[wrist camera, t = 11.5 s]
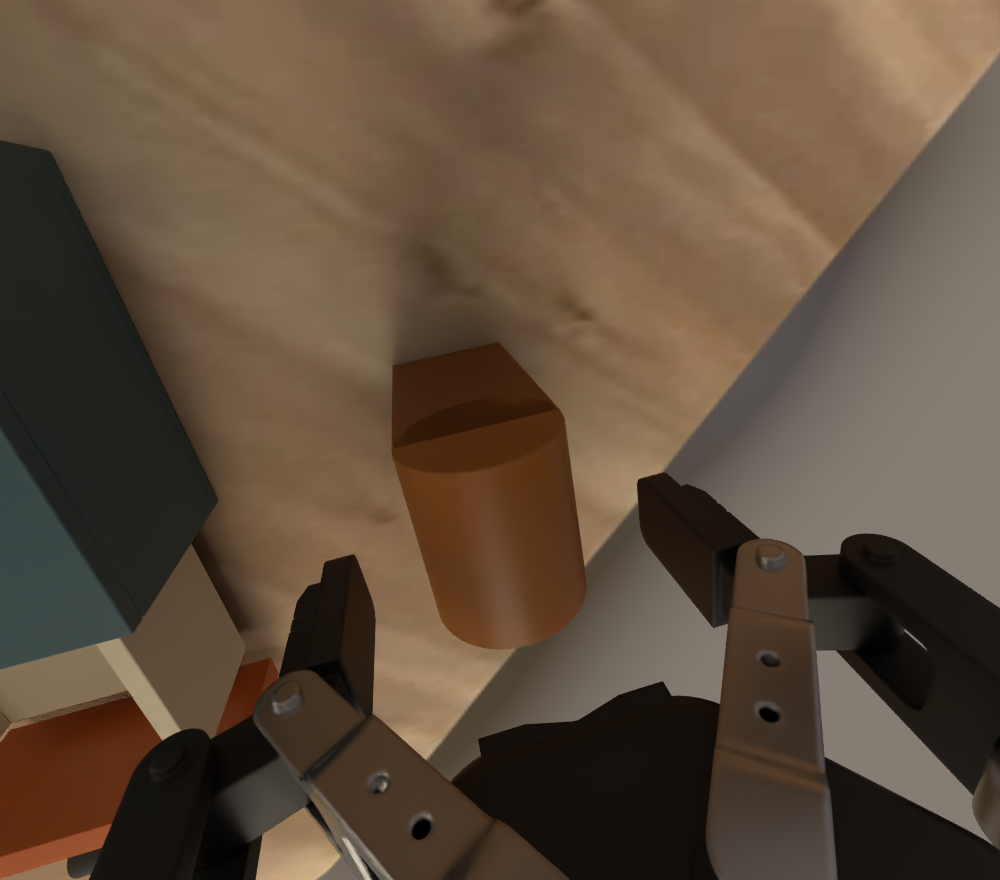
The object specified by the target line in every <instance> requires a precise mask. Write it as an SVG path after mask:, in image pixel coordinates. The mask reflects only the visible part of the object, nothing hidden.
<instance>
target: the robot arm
mask: <svg viewBox="0 0 1000 880" xmlns="http://www.w3.org/2000/svg"><path fill="white" fill-rule="evenodd" d="M637 491H638V505H639V519H640V528H641V532H642V535H643V538H644V540H645V542H646V544H647V545H648V546H649V548H650V549H651V550H652V552H653V553H654V554H655V555H656V557H657V558H658V559H659V560H660V562H661V563H662V564H663V565H664V567H665V568H666V569H667V571H668V572H669V573H670V574H671V576H672V577H673V578H674V579H675V581H676V582H677V583H678V584H679V586H680V587H681V588H682V589H683V591H684V592H685V593H686V594H687V596H688V597H689V598H690V599H691V600H692V602H693V603H694V604H695V606H696V607H697V608H698V609H699V611H700V612H701V613H702V614H703V616H704V617H705V618H706V620H707V621H708V622H709V623H710V624H711V626H712V627H713V628H715V627H718V626H722V625H725V624H728V630H727V641H726V650H725V660H724V670H723V680H722V690H721V700H720V704H718V703H716V702H713V701H709V700H705V699H702V698H695V697H690V696H671V694H670V693H669V691H668V689H667V687H666V686H665V684H664V682H663V681H662V682H659V683H655V684H653V685H649V686H646V687H643V688H639V689H636V690H633V691H630V692H627V693H624V694H620V695H618V696H617V697H615V698H613V699H612V700H610V701H608V702H607V703H605V704H604V705H602V706H600V707H599V708H598V709H596V710H594V711H592V712H591V713H590V714H588V715H586V716H584V717H583V718H581V719H579V720H577V721H572V722H557V723H540V724H525V725H521V726H518V727H515V728H512V729H509V730H505V731H502V732H500V733H496V734H493V735H490V736H486V737H483V738H480V739H478V741H479V746H480V752H481V756H480V757H478V758H477V759H475V760H474V761H472V762H471V763H470V764H468V765H467V766H466V767H465V768H463V769H462V770H461V771H460V772H459V773H458V774H457V775H456V776H455V777H454V778H453V780H452V781H451V782H450V781H449V780H447V779H446V778H445V777H444V776H443V775H442V774H441V773H440V772H438V771H437V770H436V769H435V768H434V767H433V766H432V765H430V763H428V762H427V761H426V760H425V759H424V758H423V757H422V756H421V755H419V754H418V753H417V752H416V751H415V750H414V749H413V748H412V747H411V746H409V745H408V744H407V743H406V742H405V741H404V740H403V739H402V738H400V737H399V736H398V735H397V734H396V733H395V732H394V731H393V730H392V729H390V728H389V727H388V726H387V725H386V724H385V723H384V722H383V721H381V720H380V719H379V718H378V717H376V716H375V715H373V714H372V711H373V682H374V653H375V624H376V619H375V610H374V605H373V601H372V598H371V595H370V593H369V590H368V587H367V585H366V582H365V579H364V577H363V574H362V571H361V568H360V566H359V563H358V561H357V558H356V557H355V555H354V554H352V555H348V556H345V557H341V558H337V559H333V560H330V561H326V562H325V563H324V567H323V573H322V578H321V583H317V584H313V585H310V586H308V587H307V589H306V590H305V591H304V593H303V594H302V596H301V597H300V598H299V600H298V601H297V604H296V608H295V612H294V617H293V618H294V620H293V621H292V625H291V629H290V631H291V633H289V637H288V641H287V645H286V649H285V654H284V658H283V662H282V666H281V670H280V674H279V678H278V679H277V680H276V681H274V682H273V683H272V684H271V685H269V686H268V687H267V688H266V689H265V690H264V691H263V693H262V694H261V695H260V697H259V698H258V700H257V702H256V704H255V706H254V710H253V714H252V715H251V716H250V717H248V718H247V719H245V720H243V721H242V722H240V723H238V724H237V725H235V726H233V727H231V728H229V729H228V730H226V731H224V732H222V733H220V734H219V735H217V736H215V737H213V738H212V739H210V737H209V736H208V734H207V733H206V732H205V731H204V730H201V729H197V728H191V729H186V730H182V731H179V732H177V733H175V734H173V735H171V736H169V737H167V738H166V739H164V740H163V741H161V742H160V743H158V744H157V745H156V746H155V747H154V748H152V749H151V750H150V751H149V752H148V753H147V754H146V755H145V756H144V757H143V759H142V760H141V761H140V762H139V764H138V765H137V767H136V768H135V770H134V772H133V774H132V776H131V778H130V781H129V783H128V785H127V788H126V790H125V793H124V795H123V798H122V800H121V803H120V805H119V807H118V810H117V812H116V815H115V817H114V820H113V822H112V825H111V827H110V830H109V832H108V834H107V837H106V839H105V842H104V844H103V847H102V849H101V852H100V854H99V856H98V859H97V861H96V864H95V866H94V869H93V871H92V874H91V876H90V879H89V880H256V873H257V867H258V860H259V854H260V847H261V841H262V834H263V833H265V832H266V831H268V830H270V829H271V828H273V827H274V826H276V825H277V824H279V823H280V822H282V821H283V820H285V819H286V818H288V817H289V816H291V815H292V814H294V813H295V812H297V811H298V810H300V809H301V808H303V807H304V808H305V809H306V811H307V812H308V813H309V815H310V816H311V817H312V819H313V820H314V821H315V823H316V824H317V825H318V826H319V828H320V829H321V830H322V832H323V833H324V834H325V836H326V837H327V838H328V840H329V841H330V842H331V843H332V845H333V846H334V847H335V849H336V850H337V851H338V853H339V854H340V855H341V857H342V858H343V859H344V860H345V862H346V863H347V864H348V866H349V867H350V869H351V870H352V871H353V873H354V874H355V876H356V877H357V878H358V880H1000V608H999V607H997V606H996V605H994V604H993V603H991V602H990V601H989V600H987V599H985V598H984V597H982V596H981V595H980V594H978V593H977V592H975V591H974V590H972V589H971V588H969V587H968V586H966V585H965V584H964V583H962V582H961V581H959V580H958V579H956V578H955V577H953V576H952V575H950V574H949V573H948V572H946V571H945V570H943V569H942V568H940V567H939V566H937V565H936V564H934V563H933V562H931V561H930V560H928V559H927V558H926V557H924V556H923V555H921V554H920V553H918V552H917V551H915V550H914V549H912V548H911V547H909V546H908V545H906V544H905V543H903V542H901V541H898V540H896V539H893V538H891V537H887V536H883V535H878V534H857V535H853V536H850V537H848V538H846V539H845V540H844V541H843V542H842V545H841V550H840V554H838V555H837V554H836V555H814V556H803V555H802V553H801V552H800V551H799V550H797V549H796V548H795V547H793V546H791V545H789V544H787V543H784V542H782V541H778V540H773V539H760V538H759V537H758V536H757V535H755V534H754V533H753V532H752V531H751V530H750V529H748V528H747V527H746V526H745V525H743V523H741V522H740V521H739V520H738V519H737V518H736V517H734V516H733V515H732V514H731V513H730V512H727V511H726V509H725V508H724V507H723V506H721V505H720V504H719V503H718V504H717V501H716V500H714V499H713V498H712V497H711V496H710V495H709V494H707V493H706V492H705V491H703V490H701V489H698V488H696V487H693V486H691V485H688V484H687V485H683V486H680V485H679V484H678V483H677V482H676V481H675V480H674V479H672V477H670V476H669V475H668V474H667V473H665V472H663V473H659V474H656V475H652V476H648V477H644V478H641V479H639V480H638V482H637ZM904 629H906V630H907V631H908V632H909V633H911V634H912V635H913V636H914V637H915V638H916V639H918V640H919V641H920V642H921V643H922V644H923V645H924V646H925V648H926V649H927V650H928V651H927V650H925V649H924V648H923V647H922V646H921V645H920V644H918V643H917V642H916V641H915V640H914V639H912V637H910V636H909V635H908V634H907V633H906V632H905V631H904ZM816 650H836V651H837V652H838V653H839V654H840V655H841V656H842V657H843V658H844V660H845V661H846V662H847V663H848V664H849V665H850V666H851V667H852V668H853V669H854V670H855V671H856V672H857V673H858V674H859V675H860V676H861V677H862V679H864V681H865V682H866V683H867V684H868V685H869V686H870V687H871V688H872V689H873V690H874V691H875V692H876V693H877V694H878V695H879V697H880V698H881V699H882V700H883V701H884V702H885V703H886V704H887V705H888V706H889V707H890V708H891V709H892V710H893V711H894V712H895V713H896V714H897V715H898V716H899V718H900V719H901V720H902V721H903V722H904V723H905V724H906V725H907V726H908V727H909V728H910V729H911V730H912V731H913V732H914V733H915V735H916V736H917V737H918V738H919V739H920V740H921V741H922V742H923V743H924V744H925V745H926V746H927V747H928V748H929V749H930V750H931V751H932V753H933V754H934V755H935V756H936V757H937V758H938V759H939V760H940V761H941V762H942V763H943V764H944V765H945V766H946V767H947V768H948V769H949V770H950V772H951V773H952V774H953V775H954V776H955V777H956V778H957V779H958V780H959V781H960V782H961V783H962V784H963V785H964V786H965V787H966V788H967V789H968V790H969V792H970V793H971V794H972V795H973V799H972V808H973V813H974V816H975V818H976V821H977V822H978V824H979V826H980V827H981V829H982V831H983V832H984V833H985V835H986V836H987V837H988V839H989V840H990V841H991V842H992V844H993V845H994V846H993V845H991V844H990V843H989V842H987V841H986V840H984V839H982V838H981V837H979V836H977V835H975V834H973V833H972V832H970V831H968V830H966V829H964V828H962V827H960V826H958V825H956V824H954V823H953V822H951V821H949V820H946V819H945V818H943V817H941V816H939V815H937V814H935V813H933V812H931V811H929V810H927V809H925V808H923V807H921V806H920V805H917V804H915V803H914V802H912V801H910V800H908V799H906V798H904V797H902V796H900V795H897V794H896V793H894V792H892V791H890V790H888V789H886V788H884V787H883V786H881V785H879V784H877V783H875V782H873V781H870V780H869V779H867V778H865V777H863V776H861V775H859V774H857V773H855V772H853V771H851V770H849V769H847V768H846V767H843V766H842V765H840V764H838V763H836V762H834V761H832V760H830V759H828V758H826V757H824V745H823V732H822V720H821V708H820V695H819V681H818V669H817V655H816Z"/></svg>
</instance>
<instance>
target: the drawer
mask: <svg viewBox="0 0 1000 880" xmlns="http://www.w3.org/2000/svg"><path fill="white" fill-rule="evenodd" d="M245 650H246V646H245V644H244V642H243V640H242V639H241V637H240V635H239V633H238V631H237V629H236V627H235V625H234V623H233V621H232V620H231V618H230V616H229V614H228V612H227V610H226V608H225V606H224V604H223V603H222V601H221V599H220V597H219V595H218V593H217V591H216V589H215V587H214V585H213V584H212V582H211V580H210V578H209V576H208V574H207V572H206V570H205V568H204V567H203V565H202V563H201V561H200V559H199V557H198V555H197V553H196V551H195V549H194V548H193V546H192V544H191V545H190V546H189V548H188V549H187V551H186V552H185V554H184V556H183V557H182V559H181V560H180V562H179V563H178V565H177V566H176V568H175V570H174V571H173V573H172V574H171V576H170V577H169V579H168V581H167V582H166V584H165V585H164V587H163V588H162V590H161V591H160V593H159V595H158V596H157V598H156V599H155V601H154V602H153V604H152V605H151V607H150V609H149V610H148V612H147V613H146V615H145V616H144V617H143V619H142V621H141V623H140V624H139V626H138V627H137V629H136V630H135V632H134V633H133V634H132V635H129V636H125V637H121V638H118V639H114V640H110V641H106V642H102V643H99V644H95V645H91V646H87V647H84V648H80V649H76V650H72V651H68V652H65V653H61V654H57V655H53V656H50V657H46V658H42V659H38V660H35V661H31V662H27V663H23V664H19V665H16V666H12V667H8V668H4V669H1V670H0V737H1V736H2V734H3V733H4V732H5V730H6V729H7V728H8V727H9V725H10V724H11V723H12V722H16V721H19V720H23V719H27V718H30V717H34V716H37V715H41V714H45V713H48V712H52V711H56V710H59V709H63V708H66V707H70V706H74V705H77V704H81V703H85V702H88V701H92V700H96V699H99V698H103V697H106V696H110V695H114V694H117V693H121V692H125V691H128V692H129V693H130V695H131V697H128V698H124V699H120V700H117V701H113V702H110V703H106V704H102V705H99V706H95V707H91V708H88V709H84V710H81V711H77V712H73V713H70V714H66V715H63V716H59V717H55V718H52V719H48V720H45V721H41V722H37V723H34V724H30V725H26V726H23V727H19V728H16V729H12V730H10V731H9V732H8V734H7V735H6V736H5V737H4V739H3V740H2V741H1V743H0V879H1V878H4V877H7V876H11V875H14V874H17V873H20V872H24V871H27V870H30V869H34V868H37V867H40V866H43V865H47V864H50V863H53V862H57V861H60V860H63V859H66V858H68V861H67V870H68V874H69V875H70V877H72V878H75V879H76V878H80V877H83V876H86V875H90V874H92V871H93V869H94V866H95V864H96V861H97V859H98V856H99V854H100V852H101V849H102V847H103V844H104V842H105V839H106V837H107V834H108V832H109V830H110V827H111V825H112V822H113V820H114V817H115V815H116V812H117V810H118V807H119V805H120V803H121V800H122V798H123V795H124V793H125V790H126V788H127V785H128V783H129V781H130V778H131V776H132V774H133V772H134V770H135V768H136V767H137V765H138V764H139V762H140V761H141V760H142V759H143V757H144V756H145V755H146V754H147V753H148V752H149V751H150V750H151V749H152V748H154V747H155V746H156V745H157V744H158V743H160V742H161V741H163V740H164V739H166V738H167V737H169V736H171V735H173V734H175V733H177V732H179V731H182V730H186V729H191V728H197V729H201V730H204V731H205V732H206V733H207V734H208V736H209V737H210V739H212V738H213V737H215V736H217V735H219V734H220V733H222V732H224V731H226V730H228V729H229V728H231V727H233V726H235V725H237V724H238V723H240V722H242V721H243V720H245V719H247V718H248V717H250V716H251V715H252V714H253V710H254V706H255V704H256V702H257V700H258V698H259V697H260V695H261V694H262V693H263V691H264V690H265V689H266V688H267V687H268V686H269V685H271V684H272V683H273V682H274V681H276V680H277V679H278V675H279V673H278V671H277V669H276V667H275V665H274V663H273V661H272V659H271V658H268V659H265V660H261V661H258V662H254V663H250V664H247V665H243V666H240V664H241V661H242V658H243V655H244V652H245ZM239 666H240V667H239Z"/></svg>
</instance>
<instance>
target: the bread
mask: <svg viewBox="0 0 1000 880" xmlns="http://www.w3.org/2000/svg"><path fill="white" fill-rule="evenodd" d="M392 456H393V460H394V463H395V466H396V470H397V473H398V476H399V480H400V483H401V486H402V490H403V493H404V497H405V500H406V503H407V507H408V510H409V513H410V517H411V520H412V523H413V527H414V530H415V534H416V537H417V540H418V544H419V547H420V550H421V554H422V557H423V560H424V564H425V567H426V571H427V574H428V577H429V581H430V584H431V587H432V591H433V594H434V597H435V601H436V604H437V608H438V611H439V614H440V617H441V619H442V622H443V623H444V625H445V626H446V628H447V629H448V630H449V631H450V632H451V633H452V634H453V635H455V636H456V637H457V638H459V639H460V640H462V641H464V642H466V643H469V644H472V645H474V646H478V647H483V648H489V649H512V648H519V647H523V646H528V645H531V644H534V643H536V642H540V641H542V640H544V639H546V638H548V637H550V636H552V635H554V634H555V633H556V632H559V631H560V630H561V629H562V628H564V627H565V626H566V625H567V624H568V623H569V622H570V621H571V620H572V619H573V618H574V617H575V616H576V614H577V613H578V611H579V610H580V608H581V606H582V604H583V601H584V598H585V594H586V576H585V568H584V561H583V553H582V546H581V538H580V531H579V523H578V516H577V508H576V501H575V493H574V486H573V478H572V471H571V463H570V456H569V448H568V441H567V433H566V426H565V419H564V416H563V414H562V412H561V411H560V409H559V408H558V407H557V406H556V405H555V404H554V403H553V402H552V400H551V399H550V398H549V397H548V396H547V395H546V394H545V393H544V392H543V391H542V389H541V388H540V387H539V386H538V385H537V384H536V383H535V382H534V381H533V380H532V378H531V377H530V376H529V375H528V374H527V373H526V372H525V371H524V370H523V369H522V367H521V366H520V365H519V364H518V363H517V362H516V361H515V360H514V359H513V357H512V356H511V355H510V354H509V353H508V352H507V351H506V350H505V349H504V348H503V346H502V345H501V344H500V343H495V344H490V345H486V346H481V347H477V348H472V349H468V350H463V351H459V352H454V353H450V354H446V355H441V356H437V357H432V358H428V359H423V360H419V361H414V362H410V363H405V364H401V365H396V366H393V378H392Z"/></svg>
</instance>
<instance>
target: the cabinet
mask: <svg viewBox="0 0 1000 880" xmlns="http://www.w3.org/2000/svg"><path fill="white" fill-rule="evenodd" d="M217 502H218V501H217V498H216V496H215V494H214V492H213V490H212V488H211V486H210V484H209V482H208V480H207V478H206V475H205V473H204V471H203V469H202V467H201V465H200V463H199V461H198V459H197V457H196V455H195V453H194V450H193V448H192V446H191V444H190V442H189V440H188V438H187V436H186V434H185V432H184V430H183V428H182V425H181V423H180V421H179V419H178V417H177V415H176V413H175V411H174V409H173V407H172V405H171V403H170V401H169V398H168V396H167V394H166V392H165V390H164V388H163V386H162V384H161V382H160V380H159V378H158V376H157V373H156V371H155V369H154V367H153V365H152V363H151V361H150V359H149V357H148V355H147V353H146V351H145V348H144V346H143V344H142V342H141V340H140V338H139V336H138V334H137V332H136V330H135V328H134V326H133V323H132V321H131V319H130V317H129V315H128V313H127V311H126V309H125V307H124V305H123V303H122V301H121V298H120V296H119V294H118V292H117V290H116V288H115V286H114V284H113V282H112V280H111V278H110V276H109V274H108V271H107V269H106V267H105V265H104V263H103V261H102V259H101V257H100V255H99V253H98V251H97V249H96V246H95V244H94V242H93V240H92V238H91V236H90V234H89V232H88V230H87V228H86V226H85V224H84V221H83V219H82V217H81V215H80V213H79V211H78V209H77V207H76V205H75V203H74V201H73V199H72V196H71V194H70V192H69V190H68V188H67V186H66V184H65V182H64V180H63V178H62V176H61V174H60V172H59V169H58V167H57V165H56V163H55V161H54V159H53V157H52V155H51V153H50V152H49V151H47V150H42V149H38V148H33V147H29V146H24V145H20V144H15V143H11V142H6V141H2V140H0V670H1V669H4V668H8V667H12V666H16V665H19V664H23V663H27V662H31V661H35V660H38V659H42V658H46V657H50V656H53V655H57V654H61V653H65V652H68V651H72V650H76V649H80V648H84V647H87V646H91V645H95V644H99V643H102V642H106V641H110V640H114V639H118V638H121V637H125V636H129V635H132V634H133V633H134V632H135V630H136V629H137V627H138V626H139V624H140V623H141V621H142V619H143V617H144V616H145V615H146V613H147V612H148V610H149V609H150V607H151V605H152V604H153V602H154V601H155V599H156V598H157V596H158V595H159V593H160V591H161V590H162V588H163V587H164V585H165V584H166V582H167V581H168V579H169V577H170V576H171V574H172V573H173V571H174V570H175V568H176V566H177V565H178V563H179V562H180V560H181V559H182V557H183V556H184V554H185V552H186V551H187V549H188V548H189V546H190V545H191V543H192V541H193V540H194V538H195V537H196V535H197V534H198V532H199V531H200V529H201V527H202V526H203V524H204V523H205V521H206V520H207V518H208V517H209V515H210V513H211V512H212V509H214V507H215V506H216V504H217Z"/></svg>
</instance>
